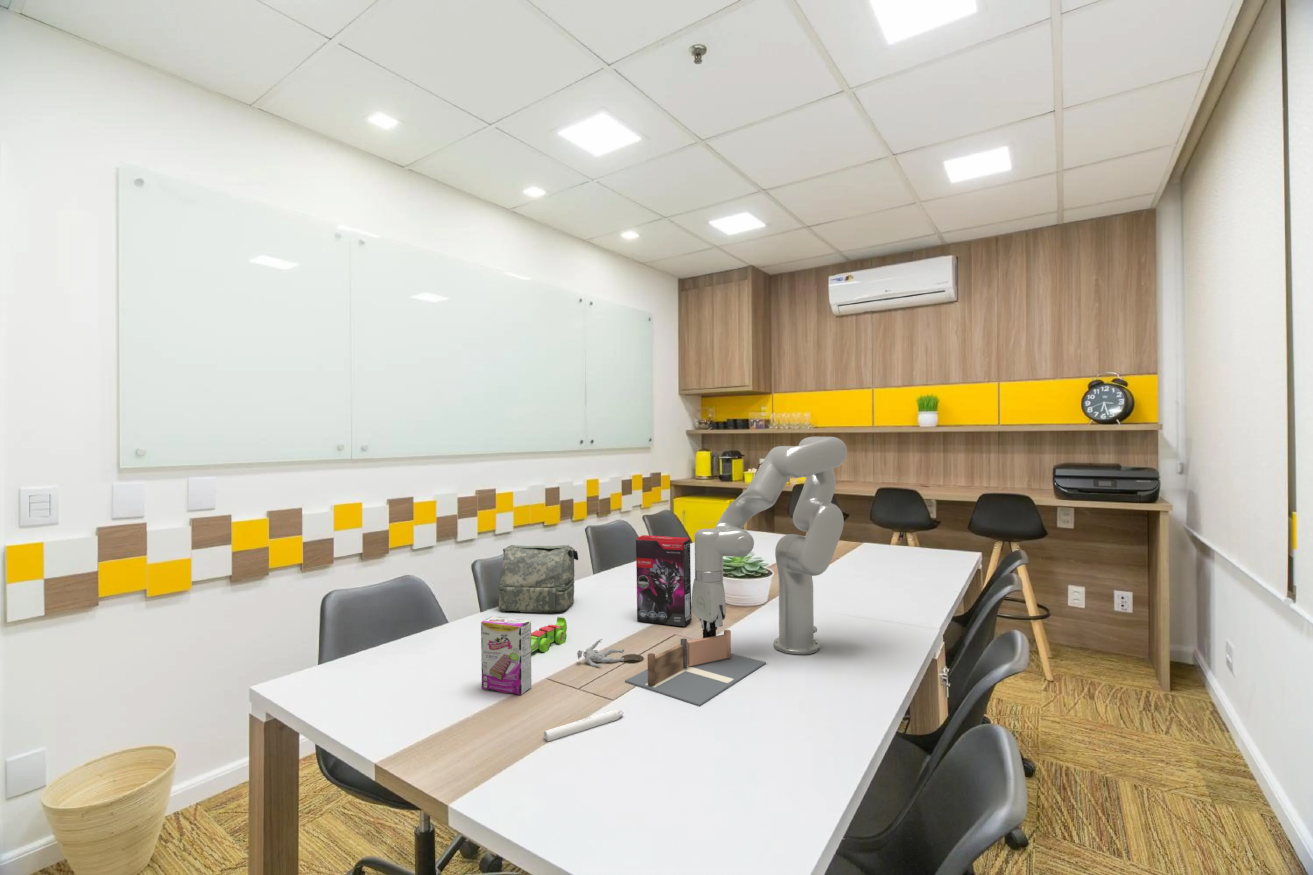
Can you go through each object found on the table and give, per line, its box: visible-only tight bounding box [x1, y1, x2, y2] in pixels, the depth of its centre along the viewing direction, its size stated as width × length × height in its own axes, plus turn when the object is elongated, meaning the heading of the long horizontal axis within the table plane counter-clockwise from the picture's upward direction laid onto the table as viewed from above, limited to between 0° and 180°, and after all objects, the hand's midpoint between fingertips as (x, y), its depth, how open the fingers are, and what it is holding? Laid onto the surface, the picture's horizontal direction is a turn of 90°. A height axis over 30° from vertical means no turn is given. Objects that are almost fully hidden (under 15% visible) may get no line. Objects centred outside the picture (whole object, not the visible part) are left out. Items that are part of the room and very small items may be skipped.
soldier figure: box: [576, 638, 625, 668], centre depth 161 cm, size 8×5×12 cm
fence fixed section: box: [647, 638, 688, 686], centre depth 150 cm, size 15×2×7 cm, turn 142°
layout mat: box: [624, 652, 767, 707], centre depth 153 cm, size 31×22×1 cm
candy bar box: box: [480, 616, 532, 696], centre depth 144 cm, size 11×5×16 cm, turn 71°
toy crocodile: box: [531, 616, 568, 654], centre depth 174 cm, size 20×7×6 cm, turn 152°
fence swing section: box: [687, 629, 732, 666], centre depth 159 cm, size 13×2×7 cm, turn 117°
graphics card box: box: [635, 534, 693, 627], centre depth 195 cm, size 17×7×27 cm, turn 67°
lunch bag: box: [498, 544, 579, 613], centre depth 213 cm, size 26×18×22 cm
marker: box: [543, 709, 624, 743], centre depth 125 cm, size 18×2×2 cm, turn 124°
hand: (709, 643), depth 162 cm, fingers closed
